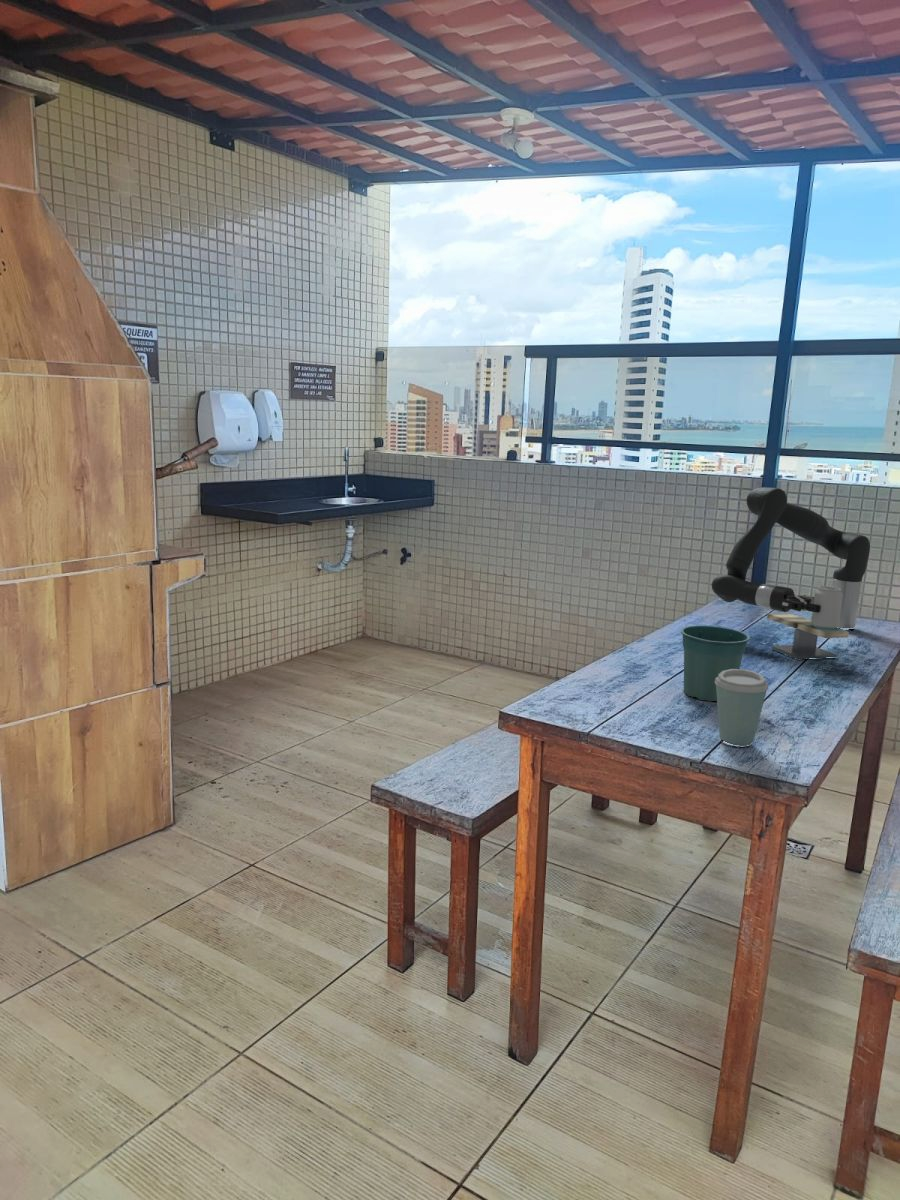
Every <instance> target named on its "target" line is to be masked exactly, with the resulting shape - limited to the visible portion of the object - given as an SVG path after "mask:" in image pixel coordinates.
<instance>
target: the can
mask: <svg viewBox="0 0 900 1200" xmlns="http://www.w3.org/2000/svg"><path fill="white" fill-rule="evenodd" d="M813 597H814V604H817V605H820V606H821V609H820V612H818V613H816V612H812V614H811V619H810V620H811V624H812V625H813V626H814V627H816V628H819V629H825V630H834V629H836V628H837V627H839V620H840V613H841V605H842V598H843V594H842V593H841V589H839V588H835V587H832V586H825V585H823V586H818V587H817V590H815V593H814V596H813Z"/></svg>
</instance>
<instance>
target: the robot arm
mask: <svg viewBox="0 0 900 1200" xmlns="http://www.w3.org/2000/svg"><path fill="white" fill-rule="evenodd" d="M746 506H747V508H748V510H749V511H750V512H751V514H754V516H755V515H756V516H758V518H757V520H756V522H755V523H754V524H753V525H752V526H751V527H750V528H749V530H748V531H746V533H745V534H743V536H742V537H741V538H739V540H738V541H737V542H736V543H735V544H734V546H733V548H732V551H731V552H730V555H729V557H728V558H727V560H726V564H725V567H726V570H727V574H721V575H718V576H716V577H714V579H713V580H712V582H711V589H712V592H713V593H714V594H715V595H716V596H718V597H719V599H721V600H722V601H724V602H726V603H734V602H735V601H737V600H739V601H741V602H742V603H744V604H747V605H752V606H757V607H761V608H764V609H767V610H773V611H776V612H782V613H789V611H791V610H793V611H797V612H801V611H803V612H806V611H808V612H812V613H813V612H816V613H818V612H820V609H821V606H820V605H817V604H814V597H815V596H813V595H812V596H810V595H806V594H798V595H795V591H794V589H793V588H791V587H785V586H781V585H775V584H774V585H773V584H768V583H767V584H766V583H759V582H752V581H747V580H746V579H747V573H748V570H749V569H750V567H751V564H752V562H753V560H754V558H755V555H756V554H757V552H758V550H759V548H760V547H761V545H762V544H763V542H764V540H765V539H766V538H767V537H768V534H769V533H770V532H771V530H772V529H773V528H774V526H775V524H777V525H779V526H781V527H782V528H785V529H786V530H788V531H790V532H791V533H793V534H795V535H797V536H798V537H800V538H803V539H804V540H807V541H809V542H811V543H813V544H816V545H818V546H821V547H823V548H824V549H825V550H827V552H829V553H831V554H832V556H833V555H834V556H835V557H836V558H839V559H842V560H845V561H846V562H845V565H844V567H842V568H838V569H835V570H834V571H833V575H832V581H831V587H835V588H839V589H841V593H842V594H843V598H842V605H841V613H840V620H839V627H838V628H854V627H855V628H856V623H857V618H858V617H857V616H858V609H859V603H860V597H861V589H862V583H863V582H862V581H863V577H864V575H865V573H866V570H867V566H868V561H869V558H870V552H871V543H870V540H869V538H868V537H867V536H865V535H862V534H856V533H851V532H845V531H842V530H838V529H836V528H834V527H832V526H830V524H829V522H828V520H827V519H826V518H825V517H824V516H822V515H821V514H819V513H818V512H815V511H813V510H812V509H810V508H806V507H804V506H800V505H796V504H792V503H789V502H788V497H787V494H786V492H785V491H784V490H783V489H782V488H779V487H768V486H767V487H757V488H754V489H752V490H751V491H750V492H749V493H748V494H747V497H746Z"/></svg>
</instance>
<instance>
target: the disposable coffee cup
mask: <svg viewBox="0 0 900 1200" xmlns="http://www.w3.org/2000/svg"><path fill="white" fill-rule="evenodd" d="M715 684H716V691H717V702H716V703H717V704H716V705H717V720H718V735H719V738H720V741H721V740H723V741H725V742H727V743H730V744H733V745H739V746H747V745H750V744H751V743H752V744H753V742H754V740H755V737H756V732H757V728H758V727H759V726H758V725H759V721H760V718H761V713H762V711H763V706H764V702H765V698H766V695H767V690H769V684H768V683H767V680H766V678H765V677H764V675H763V674H761V673H758V672H756V671H754V670H748V669H741V668H740V669H729V670H724V671H722V672H721V673H720V674H718V677H716V678H715ZM752 744H751V745H752ZM751 745H750V746H751Z"/></svg>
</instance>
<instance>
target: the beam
mask: <svg viewBox="0 0 900 1200" xmlns="http://www.w3.org/2000/svg"><path fill="white" fill-rule="evenodd" d="M766 619H767V620H770V621H773V622H776V623H779V624H781V625H785V626H788V627H791V628H793V629H800V630H803V631H806V632H809V633H812V634H815V635H818V636H819V637H821V638H824V639H832V638H833V639H836V638H837V639H838V638H839V639H841V638H849V635H850V634H849V633H850V632H849V630H843V629H839V628H836V629H834V630H825V629H819V628H816V627H814V626H813V625H812V624H811V620H812V619H810V618H806V617H802V616H798V615H796V614H792V613H789V612H782V613H779V612H777V613H776V612H775V613H767V617H766Z"/></svg>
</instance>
